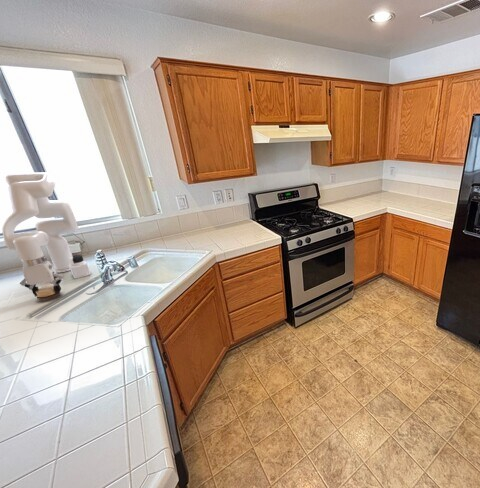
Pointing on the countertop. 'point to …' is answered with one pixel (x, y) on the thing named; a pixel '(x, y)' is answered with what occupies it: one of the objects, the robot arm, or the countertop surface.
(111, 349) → the countertop surface
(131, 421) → the countertop surface
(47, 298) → the walnut chip
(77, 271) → the medicine bottle
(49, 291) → the maple chip
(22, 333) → the countertop surface
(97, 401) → the countertop surface
